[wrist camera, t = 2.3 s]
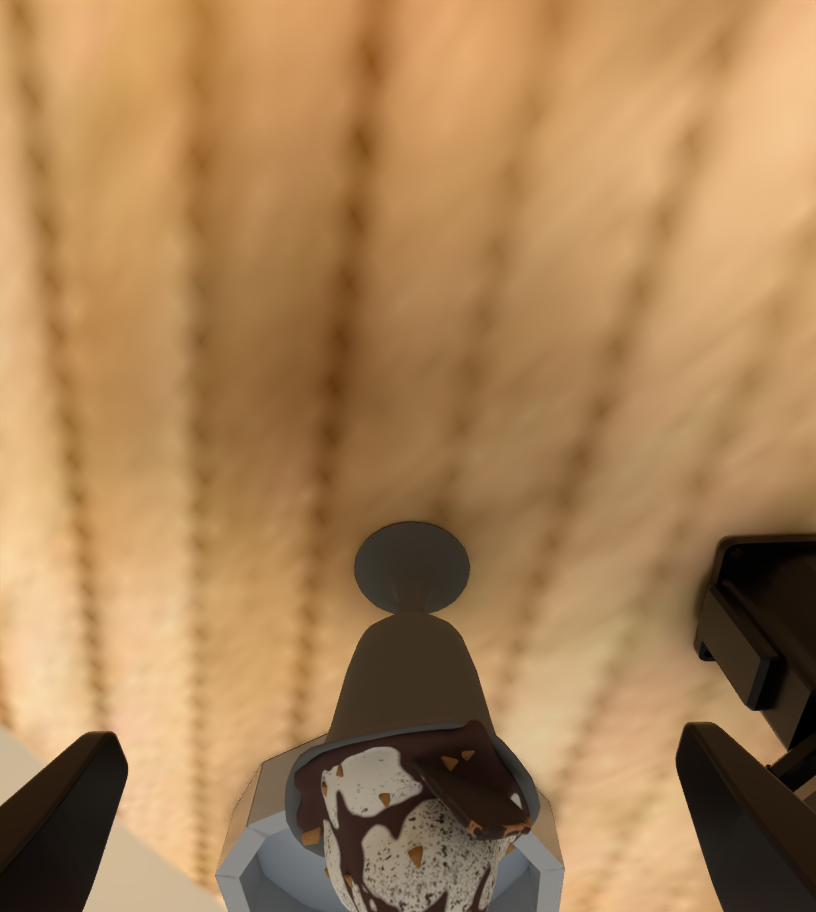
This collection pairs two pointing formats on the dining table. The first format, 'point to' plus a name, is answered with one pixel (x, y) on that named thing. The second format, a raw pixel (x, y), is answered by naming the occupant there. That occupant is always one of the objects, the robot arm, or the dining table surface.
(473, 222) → the dining table surface
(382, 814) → the sundae
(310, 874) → the grey polygonal tray
